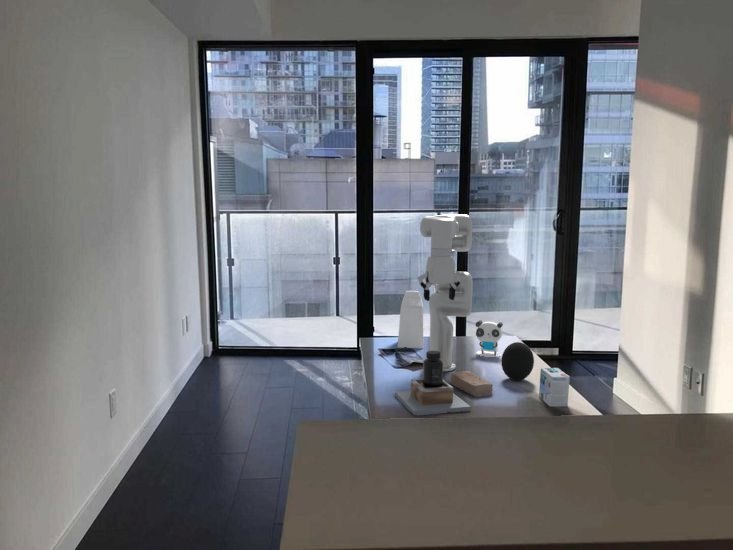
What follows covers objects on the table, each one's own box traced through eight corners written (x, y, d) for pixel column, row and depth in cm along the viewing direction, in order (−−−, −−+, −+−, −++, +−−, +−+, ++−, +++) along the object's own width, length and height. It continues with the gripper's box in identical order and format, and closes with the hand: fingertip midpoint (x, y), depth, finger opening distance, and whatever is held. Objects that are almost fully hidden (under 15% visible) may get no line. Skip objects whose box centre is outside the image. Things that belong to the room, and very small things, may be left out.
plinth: (410, 394, 211) (411, 379, 210) (439, 392, 214) (440, 377, 213) (422, 405, 200) (422, 389, 200) (452, 402, 204) (453, 387, 203)
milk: (423, 342, 292) (425, 289, 288) (423, 348, 280) (425, 293, 277) (398, 341, 293) (400, 288, 289) (397, 347, 281) (399, 292, 278)
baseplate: (394, 395, 214) (394, 391, 214) (446, 391, 220) (446, 387, 220) (414, 415, 195) (414, 411, 195) (470, 410, 201) (470, 406, 201)
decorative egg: (496, 375, 241) (498, 338, 239) (526, 375, 242) (528, 338, 240) (506, 384, 229) (508, 346, 227) (537, 384, 230) (539, 346, 228)
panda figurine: (472, 355, 270) (473, 322, 268) (478, 349, 280) (479, 318, 278) (498, 358, 265) (500, 325, 263) (503, 352, 275) (505, 320, 273)
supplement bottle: (444, 384, 209) (445, 350, 207) (440, 390, 202) (441, 355, 201) (425, 381, 211) (426, 348, 209) (420, 387, 205) (421, 353, 203)
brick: (493, 394, 218) (494, 382, 218) (474, 397, 215) (475, 384, 214) (467, 382, 233) (468, 370, 232) (449, 384, 230) (450, 372, 229)
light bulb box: (538, 396, 217) (540, 367, 215) (556, 396, 217) (558, 367, 216) (549, 406, 206) (551, 376, 205) (568, 406, 207) (570, 376, 205)
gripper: (458, 252, 223) (456, 297, 225) (414, 252, 218) (413, 298, 221) (467, 254, 216) (465, 300, 218) (422, 254, 211) (420, 302, 213)
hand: (439, 299), depth 219 cm, fingers open, 9 cm apart
